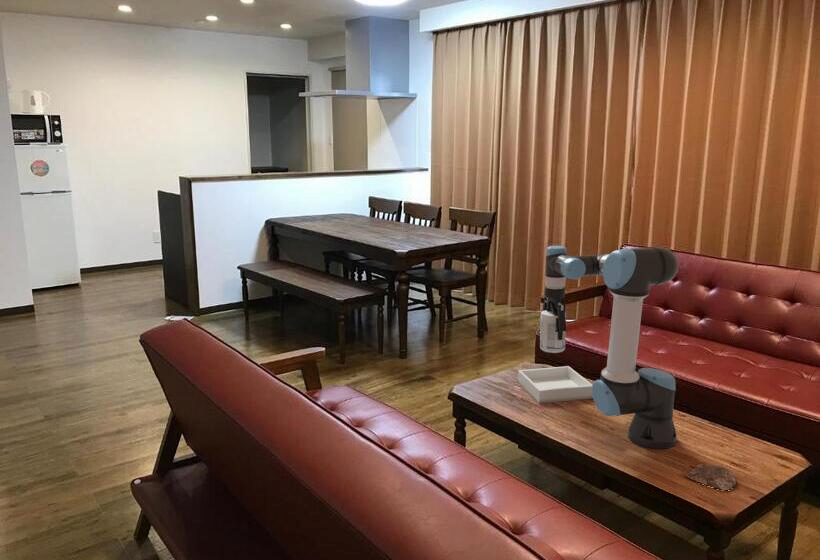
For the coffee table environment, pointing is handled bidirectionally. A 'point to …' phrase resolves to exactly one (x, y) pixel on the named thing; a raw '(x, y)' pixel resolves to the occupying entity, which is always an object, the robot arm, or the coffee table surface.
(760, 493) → the coffee table surface
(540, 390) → the white bin
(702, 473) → the shell
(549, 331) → the supplement tub
